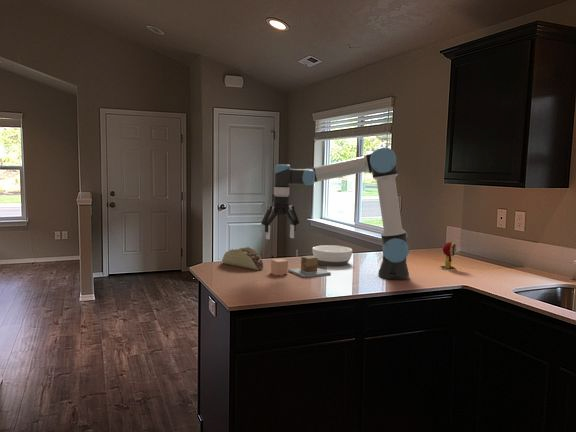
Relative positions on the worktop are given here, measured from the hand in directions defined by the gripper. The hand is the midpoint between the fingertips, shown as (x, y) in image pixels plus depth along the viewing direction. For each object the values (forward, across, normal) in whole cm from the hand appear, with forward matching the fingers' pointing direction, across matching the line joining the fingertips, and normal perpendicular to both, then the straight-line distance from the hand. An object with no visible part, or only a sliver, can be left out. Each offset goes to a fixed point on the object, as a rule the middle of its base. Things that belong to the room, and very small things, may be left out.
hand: (280, 238), depth 247 cm
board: (+18, -15, +5) cm, 24 cm away
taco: (+18, +10, -23) cm, 31 cm away
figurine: (+18, -93, +24) cm, 98 cm away
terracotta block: (+18, 0, 0) cm, 18 cm away
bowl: (+18, -41, -13) cm, 47 cm away
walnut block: (+16, -15, +4) cm, 23 cm away
